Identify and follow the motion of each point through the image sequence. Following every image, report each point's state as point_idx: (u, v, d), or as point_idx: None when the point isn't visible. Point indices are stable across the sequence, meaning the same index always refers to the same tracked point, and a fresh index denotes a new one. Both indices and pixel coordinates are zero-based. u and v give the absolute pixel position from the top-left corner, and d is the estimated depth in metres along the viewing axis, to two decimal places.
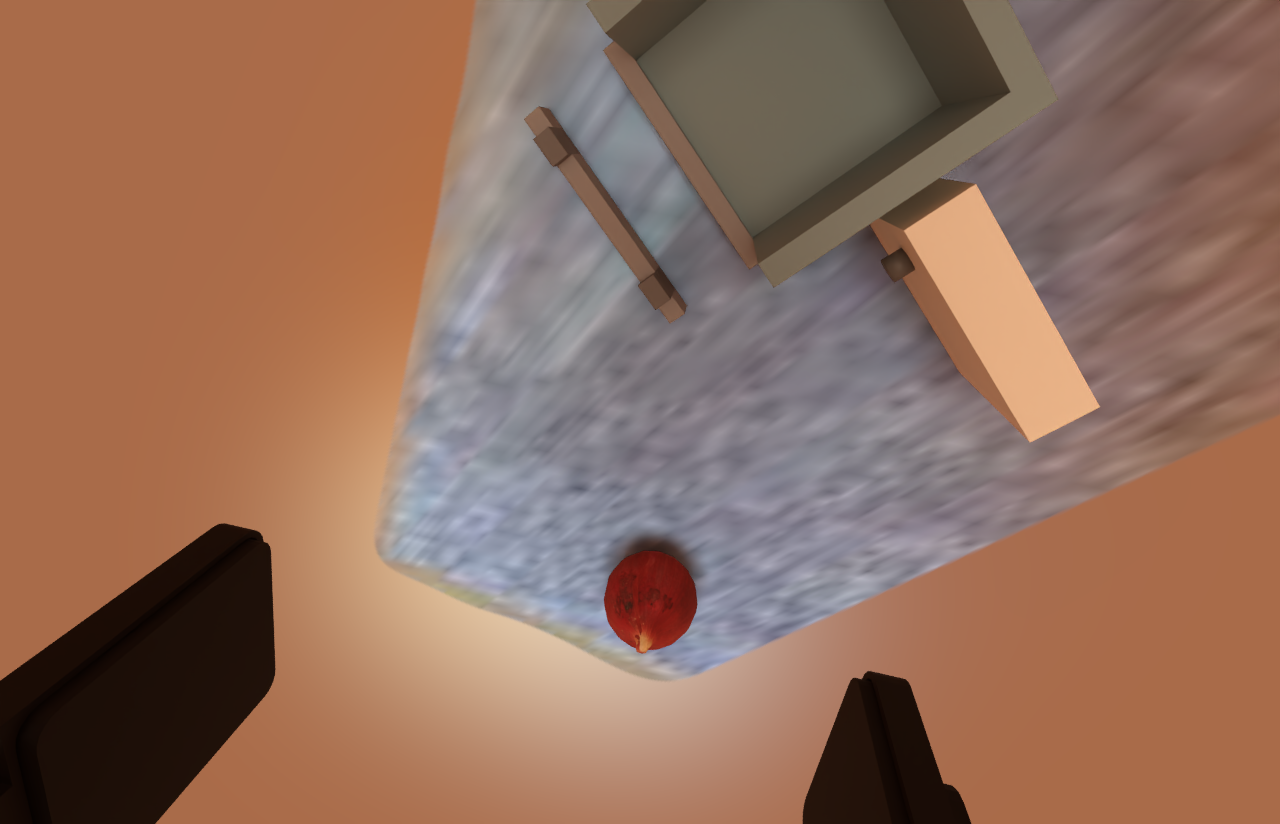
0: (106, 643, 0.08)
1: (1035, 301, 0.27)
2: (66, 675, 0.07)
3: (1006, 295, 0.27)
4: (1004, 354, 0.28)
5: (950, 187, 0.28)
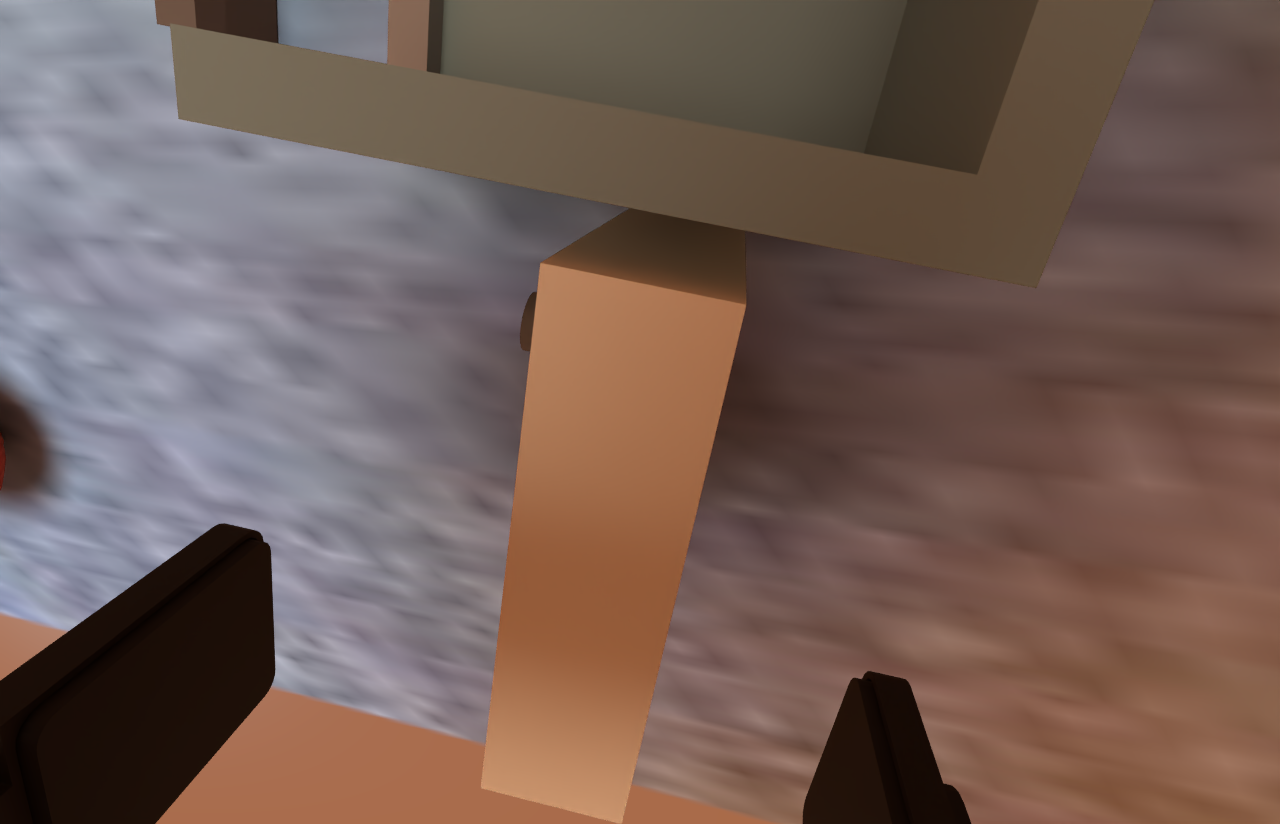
0: (106, 643, 0.08)
1: (663, 607, 0.12)
2: (66, 675, 0.07)
3: (625, 555, 0.11)
4: (544, 640, 0.12)
5: (722, 272, 0.11)
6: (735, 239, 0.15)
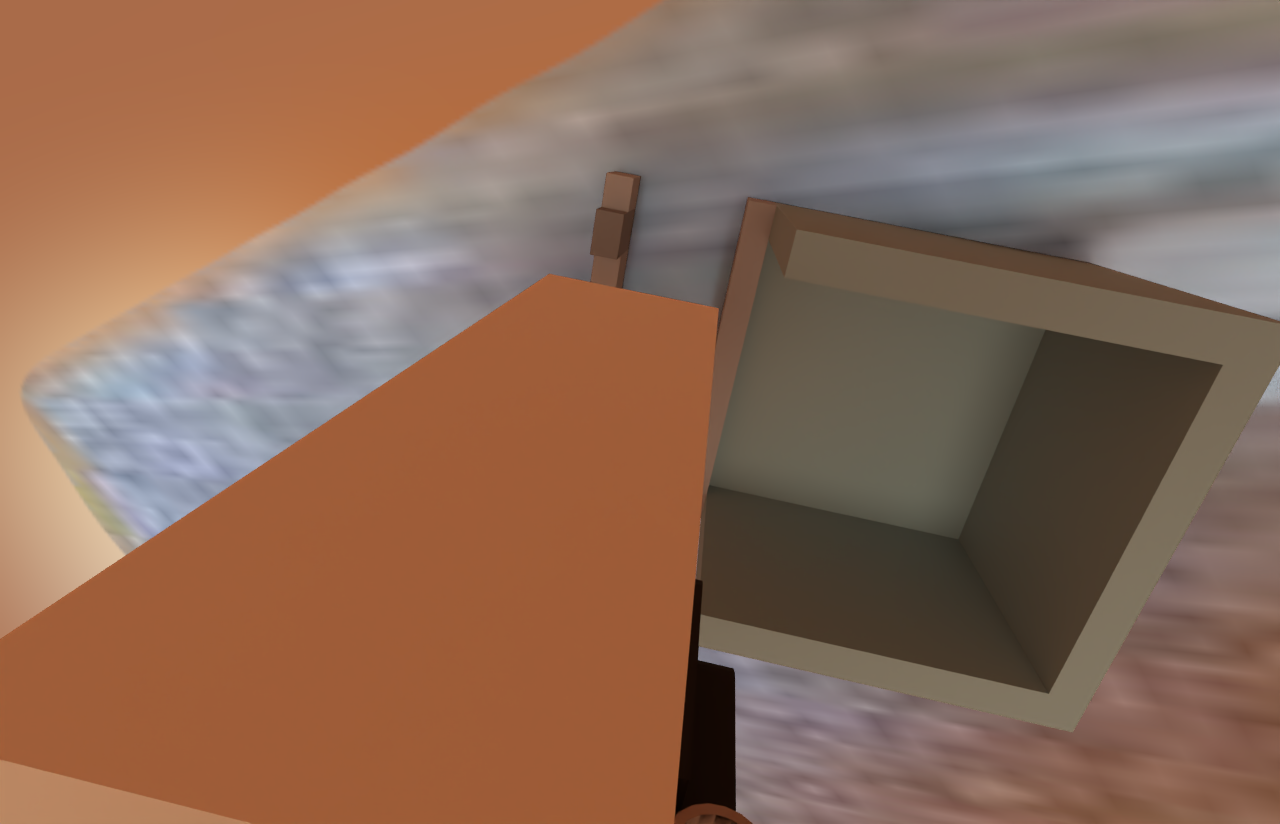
0: None
1: None
2: None
3: None
4: None
5: (631, 571, 0.04)
6: (695, 367, 0.08)
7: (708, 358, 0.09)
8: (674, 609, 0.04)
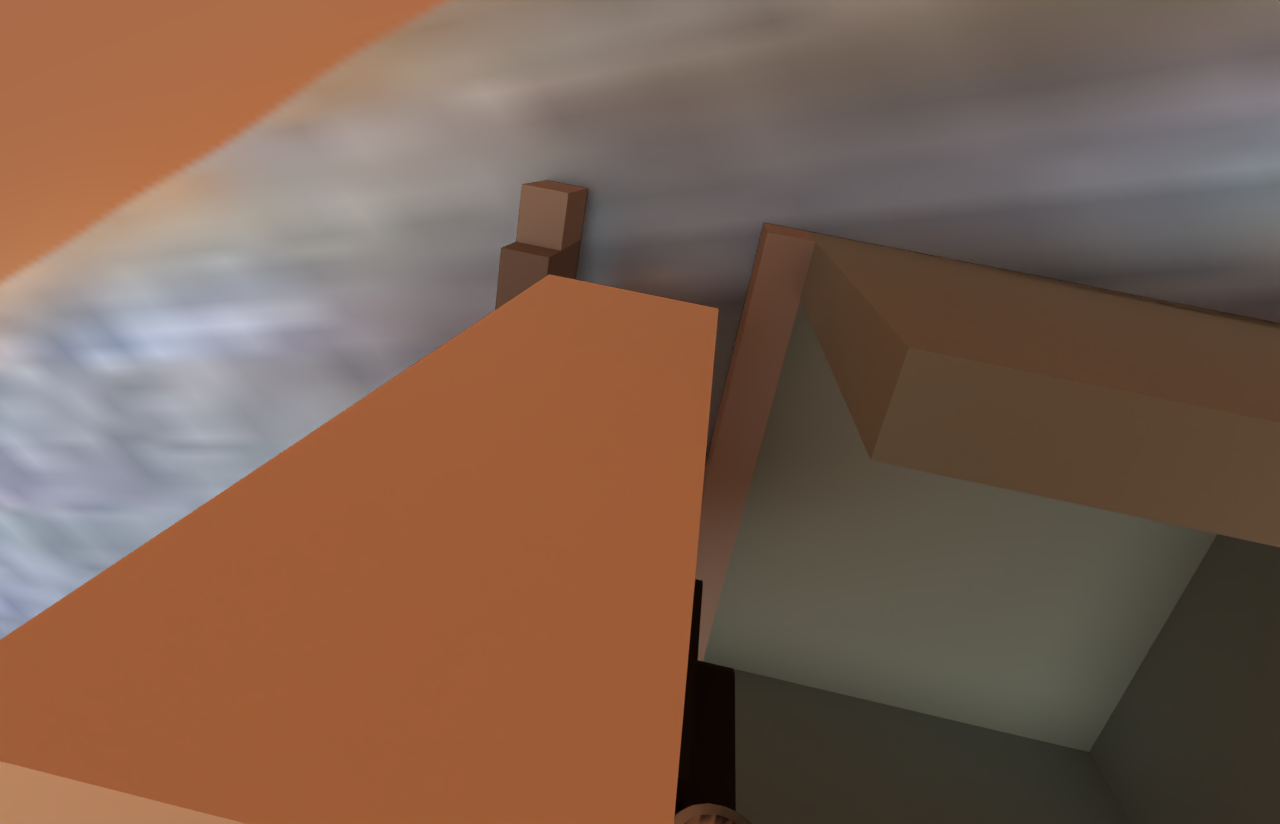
0: None
1: None
2: None
3: None
4: None
5: (631, 571, 0.04)
6: (694, 367, 0.08)
7: (708, 358, 0.09)
8: (674, 610, 0.04)
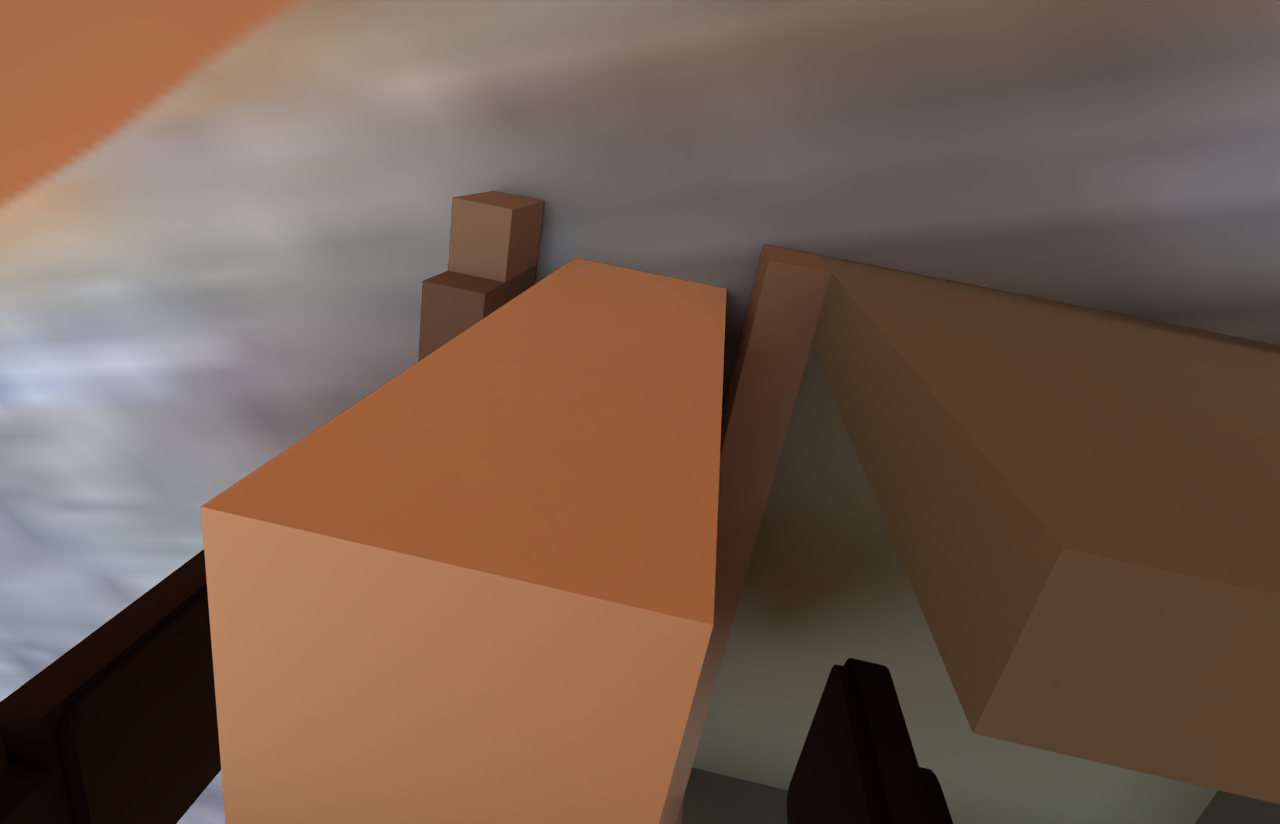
0: (139, 637, 0.08)
1: None
2: (103, 667, 0.07)
3: None
4: None
5: (671, 458, 0.06)
6: (709, 331, 0.10)
7: (720, 326, 0.10)
8: (705, 481, 0.05)
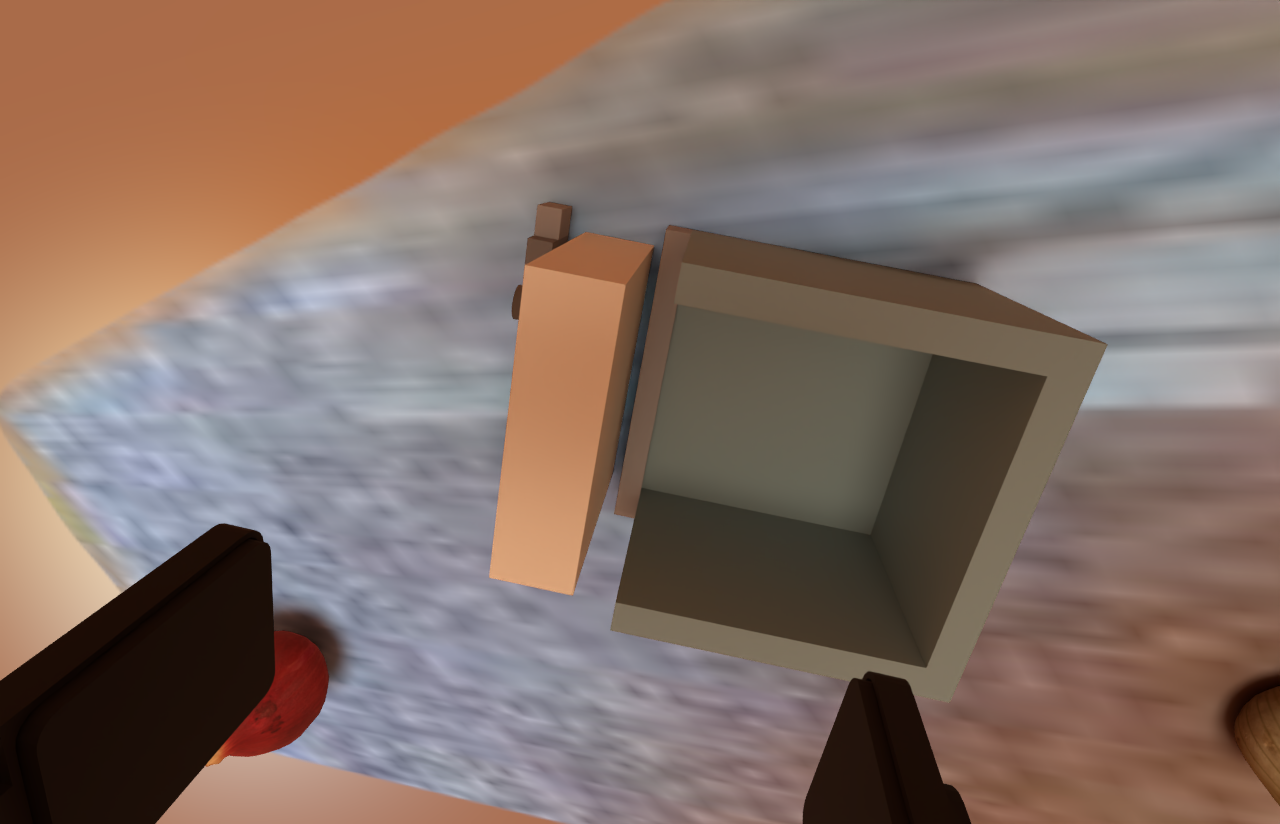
0: (106, 643, 0.08)
1: (591, 451, 0.21)
2: (66, 675, 0.07)
3: (570, 421, 0.21)
4: (527, 475, 0.22)
5: (621, 271, 0.21)
6: (640, 255, 0.26)
7: (645, 254, 0.26)
8: (629, 274, 0.21)
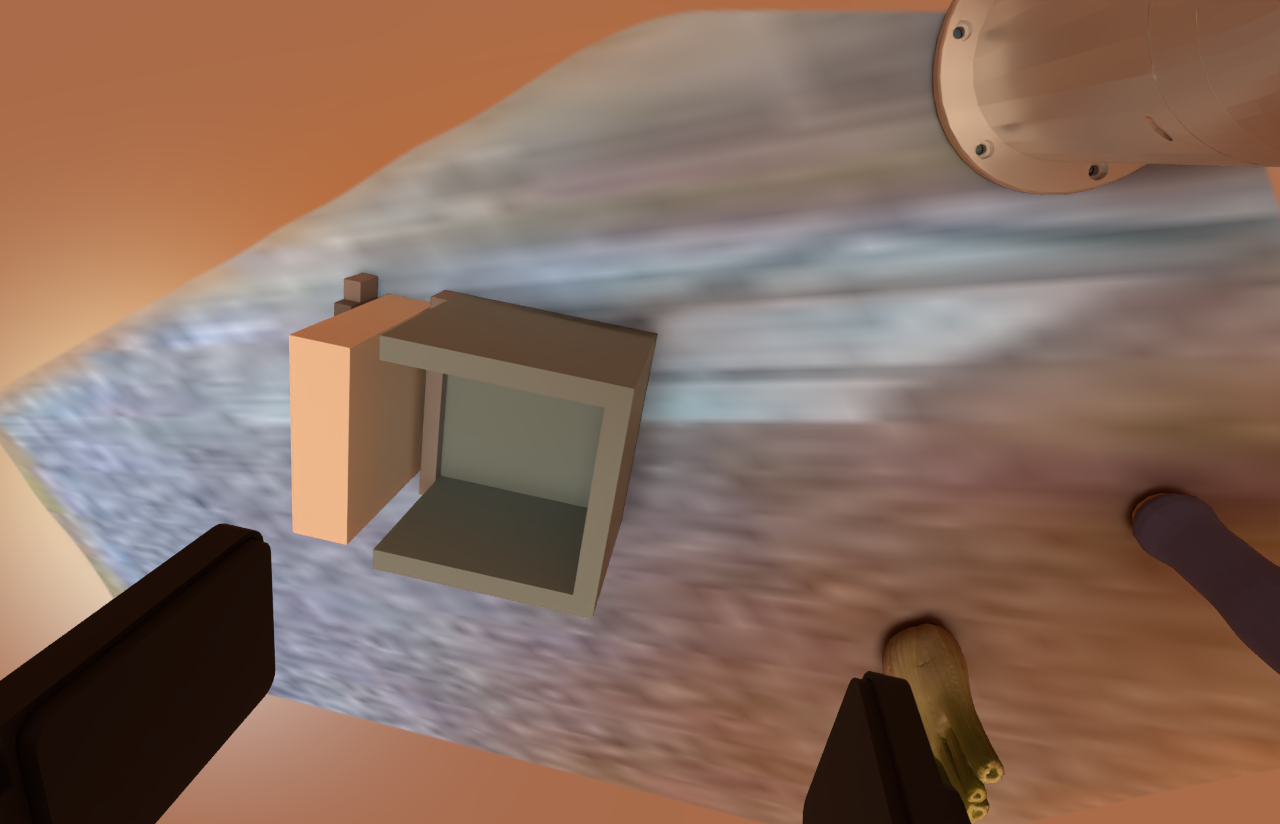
0: (106, 643, 0.08)
1: (344, 450, 0.34)
2: (66, 675, 0.07)
3: (329, 431, 0.33)
4: (307, 465, 0.34)
5: (363, 335, 0.33)
6: (406, 316, 0.38)
7: (412, 314, 0.38)
8: (366, 338, 0.33)
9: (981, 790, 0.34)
